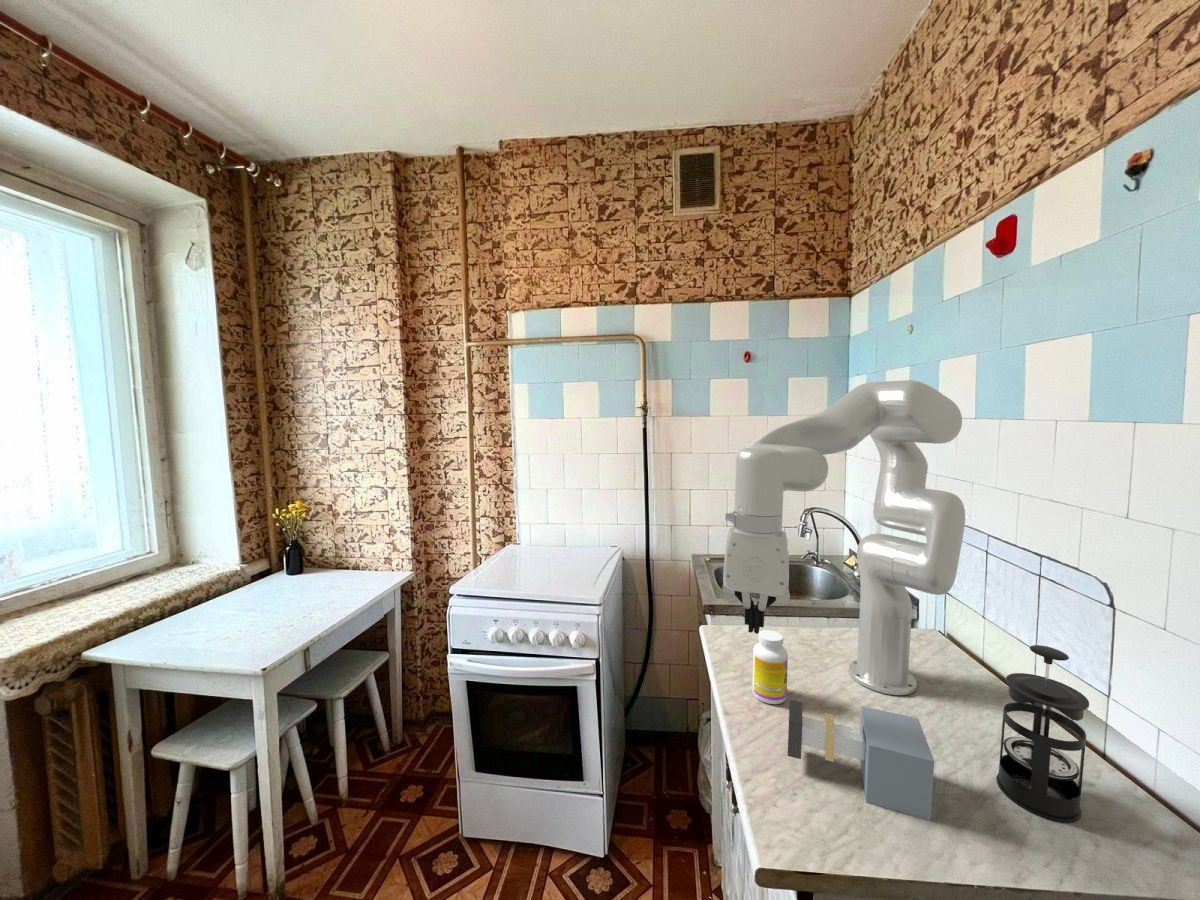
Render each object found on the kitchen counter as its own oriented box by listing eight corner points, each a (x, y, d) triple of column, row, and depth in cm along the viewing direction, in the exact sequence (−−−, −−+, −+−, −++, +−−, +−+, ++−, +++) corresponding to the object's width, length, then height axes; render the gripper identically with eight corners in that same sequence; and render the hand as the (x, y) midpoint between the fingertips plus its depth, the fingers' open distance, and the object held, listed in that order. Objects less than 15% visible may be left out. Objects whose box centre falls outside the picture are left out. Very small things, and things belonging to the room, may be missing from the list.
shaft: (788, 732, 81) (789, 699, 81) (885, 756, 75) (887, 721, 75) (787, 755, 76) (788, 720, 75) (892, 784, 70) (894, 746, 69)
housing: (858, 756, 79) (861, 705, 78) (915, 771, 76) (918, 718, 75) (866, 802, 70) (869, 745, 69) (930, 820, 67) (934, 761, 66)
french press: (1083, 839, 64) (1098, 677, 62) (993, 799, 70) (1004, 652, 68) (1078, 788, 72) (1091, 645, 70) (998, 757, 79) (1008, 625, 77)
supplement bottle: (789, 707, 92) (791, 644, 91) (754, 703, 93) (755, 641, 92) (783, 688, 98) (785, 629, 97) (750, 684, 100) (751, 626, 99)
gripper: (708, 523, 77) (705, 630, 79) (807, 532, 71) (802, 649, 73) (715, 514, 84) (713, 613, 85) (806, 522, 78) (802, 628, 80)
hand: (754, 629), depth 79 cm, fingers closed
